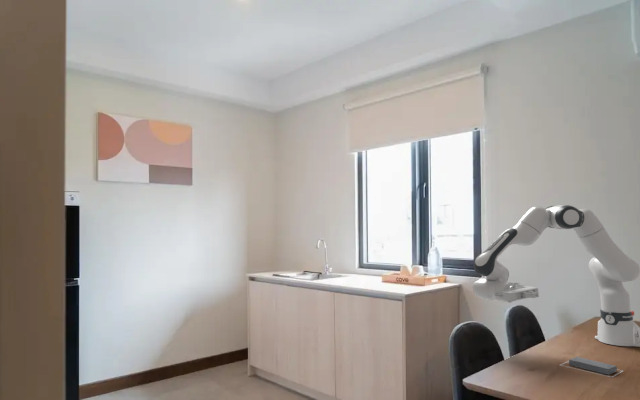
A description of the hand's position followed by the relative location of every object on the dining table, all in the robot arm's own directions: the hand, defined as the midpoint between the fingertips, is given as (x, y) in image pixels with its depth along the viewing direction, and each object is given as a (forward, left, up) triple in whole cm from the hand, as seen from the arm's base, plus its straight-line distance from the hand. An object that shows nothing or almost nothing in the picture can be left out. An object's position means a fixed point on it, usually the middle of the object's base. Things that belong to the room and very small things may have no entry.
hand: (536, 295), depth 183 cm
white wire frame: (0, +20, -25) cm, 32 cm away
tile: (0, +14, -24) cm, 27 cm away
